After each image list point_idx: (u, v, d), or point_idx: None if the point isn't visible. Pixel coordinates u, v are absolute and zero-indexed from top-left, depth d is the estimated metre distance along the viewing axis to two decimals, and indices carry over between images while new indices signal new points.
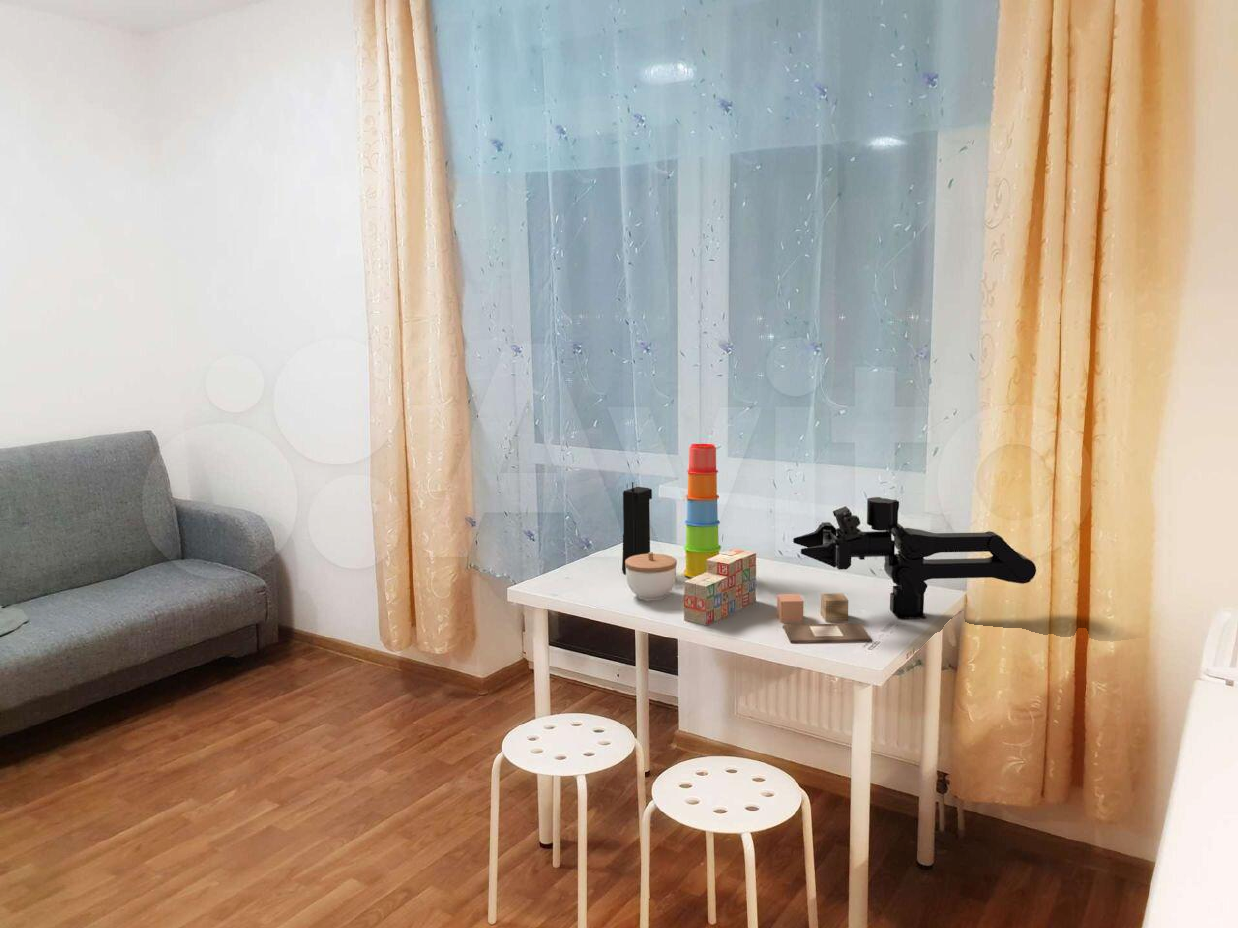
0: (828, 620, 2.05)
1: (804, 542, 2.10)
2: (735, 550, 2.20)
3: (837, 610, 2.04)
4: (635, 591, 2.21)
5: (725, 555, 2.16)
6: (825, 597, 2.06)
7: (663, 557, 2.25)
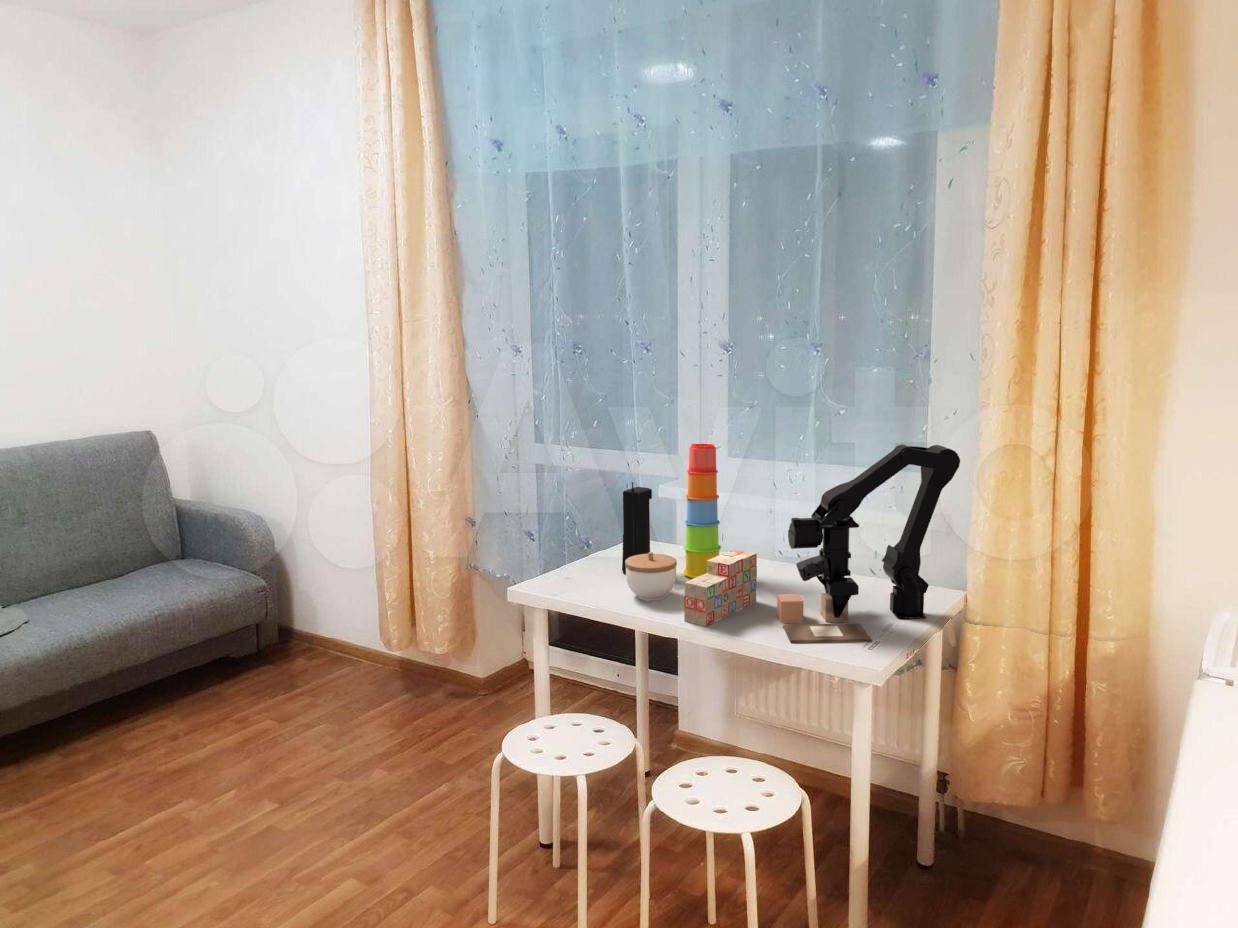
0: (828, 620, 2.05)
1: None
2: (736, 551, 2.20)
3: None
4: (635, 591, 2.21)
5: (726, 556, 2.15)
6: (825, 597, 2.06)
7: (663, 557, 2.25)
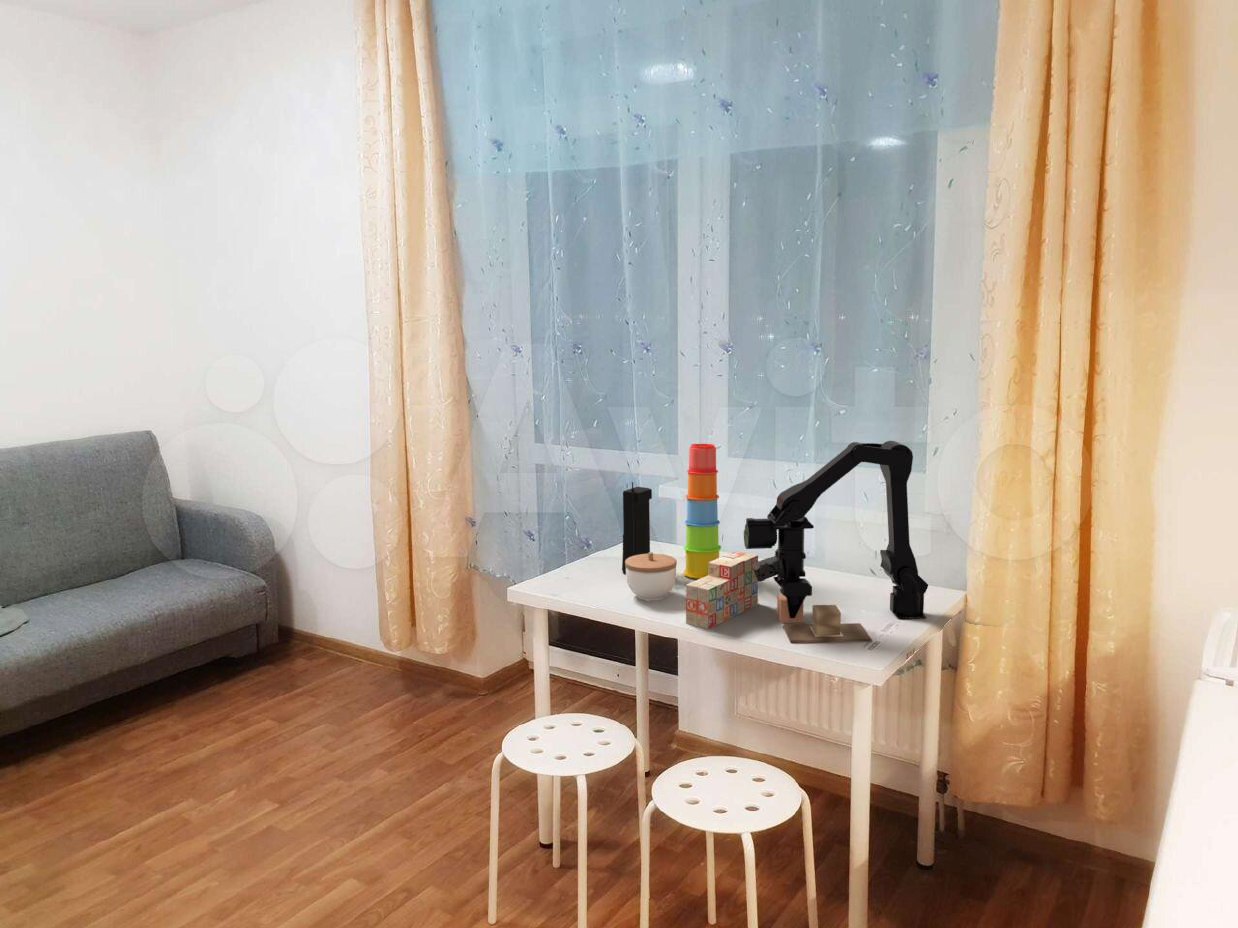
0: (819, 633, 1.95)
1: None
2: (737, 553, 2.18)
3: (829, 623, 1.94)
4: (635, 591, 2.21)
5: (727, 558, 2.13)
6: (816, 609, 1.96)
7: (663, 557, 2.25)
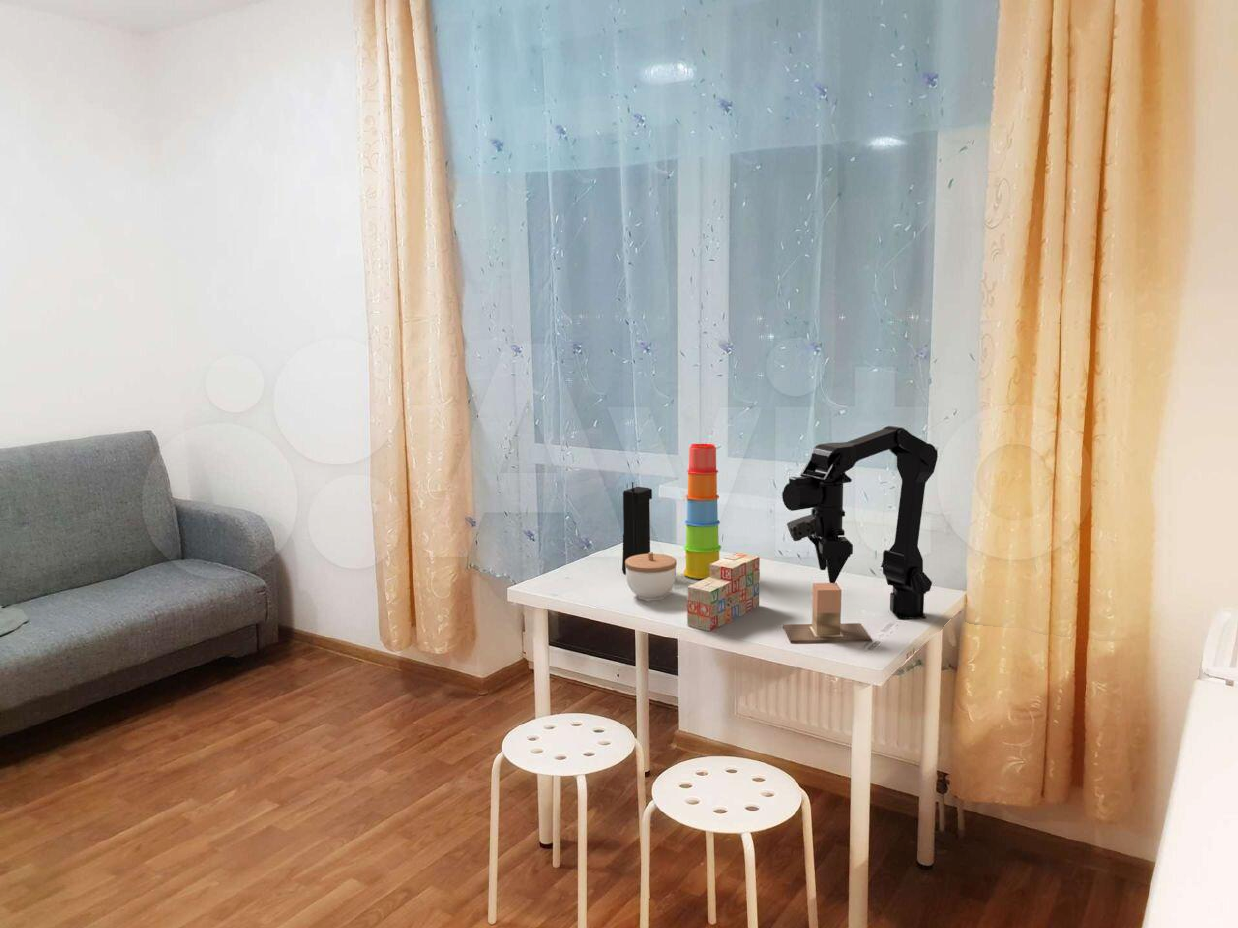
0: (819, 633, 1.95)
1: (825, 558, 1.99)
2: (738, 554, 2.17)
3: (829, 623, 1.94)
4: (635, 591, 2.21)
5: (728, 559, 2.12)
6: None
7: (663, 557, 2.25)
